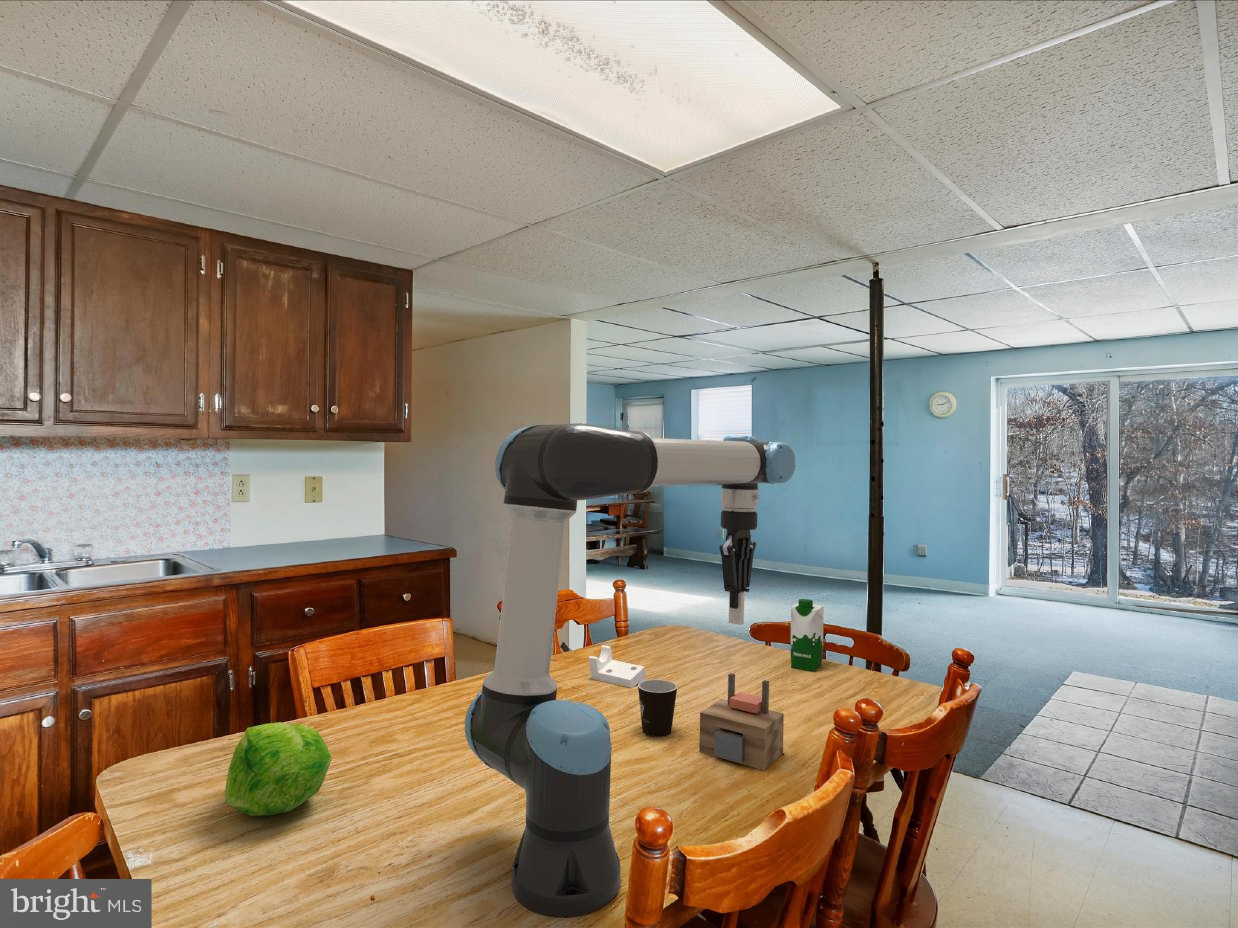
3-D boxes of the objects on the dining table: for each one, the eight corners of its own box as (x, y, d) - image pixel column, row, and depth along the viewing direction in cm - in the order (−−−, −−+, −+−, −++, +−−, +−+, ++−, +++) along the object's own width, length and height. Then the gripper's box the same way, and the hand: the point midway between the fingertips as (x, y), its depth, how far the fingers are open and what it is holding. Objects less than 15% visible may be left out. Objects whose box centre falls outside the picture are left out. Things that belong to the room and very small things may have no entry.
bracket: (592, 682, 181) (588, 657, 180) (606, 669, 187) (603, 645, 186) (632, 692, 174) (628, 666, 173) (646, 678, 180) (642, 653, 178)
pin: (741, 763, 129) (742, 738, 129) (714, 754, 132) (714, 730, 132) (771, 737, 142) (772, 715, 142) (745, 730, 145) (745, 708, 145)
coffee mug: (673, 741, 141) (674, 693, 141) (634, 736, 143) (634, 690, 143) (680, 720, 152) (680, 677, 152) (642, 717, 154) (643, 673, 154)
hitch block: (763, 770, 128) (765, 695, 128) (699, 751, 136) (700, 680, 136) (783, 752, 136) (784, 681, 136) (720, 735, 144) (722, 668, 144)
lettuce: (296, 773, 124) (319, 702, 124) (322, 838, 108) (349, 757, 108) (207, 775, 115) (233, 698, 115) (222, 846, 99) (252, 758, 99)
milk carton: (787, 668, 194) (788, 599, 194) (796, 660, 202) (797, 594, 202) (817, 673, 189) (818, 603, 189) (825, 665, 197) (826, 598, 197)
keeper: (756, 713, 135) (756, 704, 135) (729, 706, 138) (729, 698, 138) (766, 706, 139) (766, 697, 139) (739, 700, 142) (739, 691, 142)
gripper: (742, 511, 131) (739, 631, 131) (768, 510, 142) (765, 620, 141) (708, 509, 135) (705, 625, 135) (736, 508, 146) (733, 615, 146)
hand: (736, 623), depth 138 cm, fingers closed
